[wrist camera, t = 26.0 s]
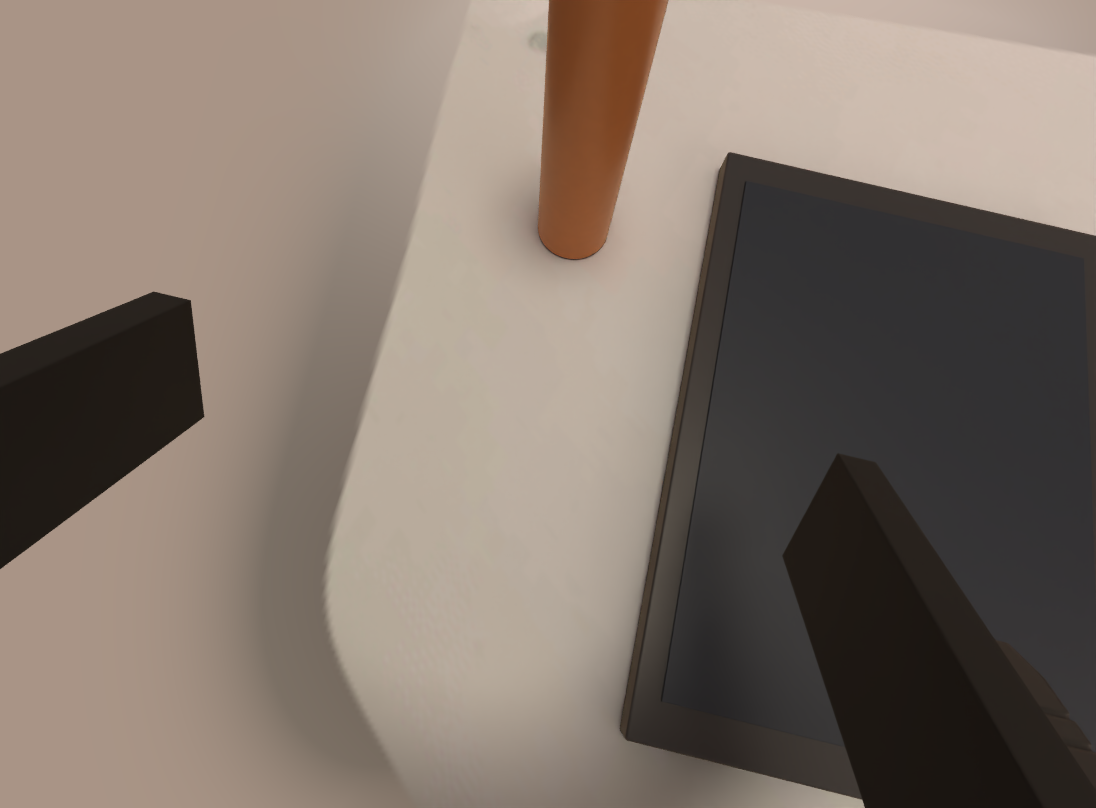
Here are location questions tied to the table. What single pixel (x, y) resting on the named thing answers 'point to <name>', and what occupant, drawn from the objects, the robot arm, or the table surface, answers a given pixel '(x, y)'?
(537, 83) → the table surface
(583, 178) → the copper cylinder
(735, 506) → the tablet
